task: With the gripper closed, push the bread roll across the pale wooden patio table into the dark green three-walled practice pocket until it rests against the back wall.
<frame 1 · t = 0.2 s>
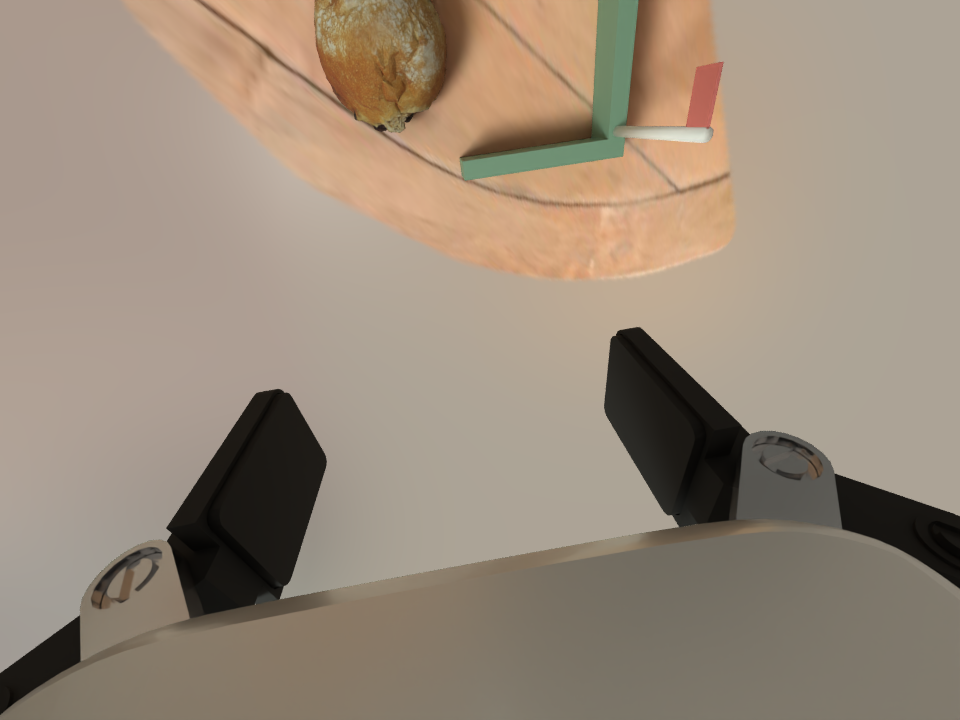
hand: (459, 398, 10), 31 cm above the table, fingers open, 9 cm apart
bread roll: (385, 57, 29), on the table
practice pocket: (521, 37, 29), on the table
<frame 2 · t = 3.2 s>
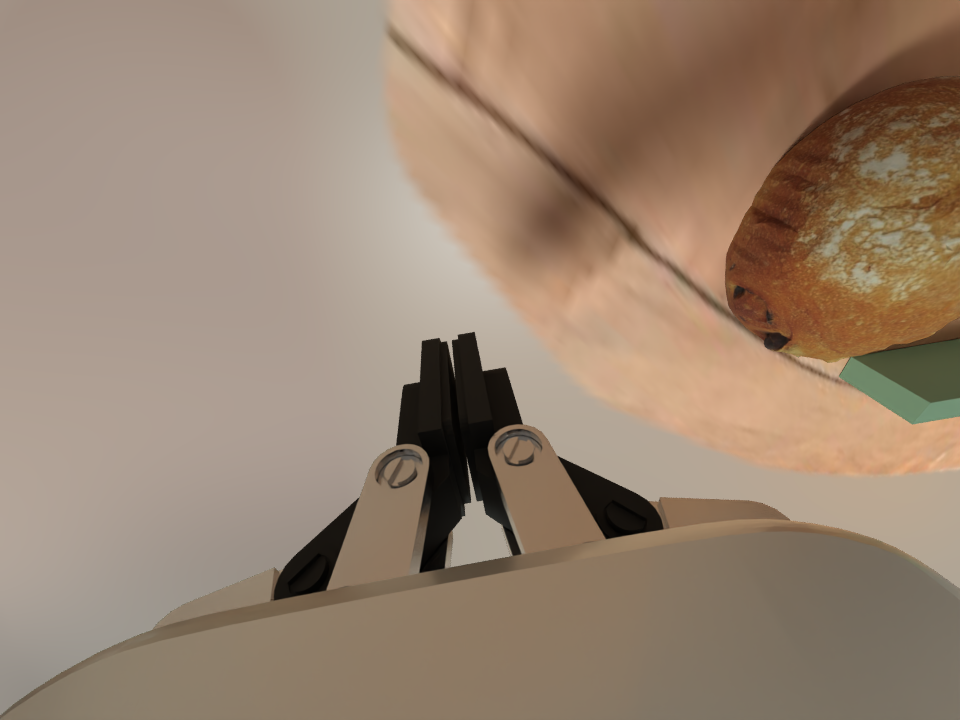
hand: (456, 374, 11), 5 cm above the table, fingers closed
bread roll: (819, 232, 16), on the table
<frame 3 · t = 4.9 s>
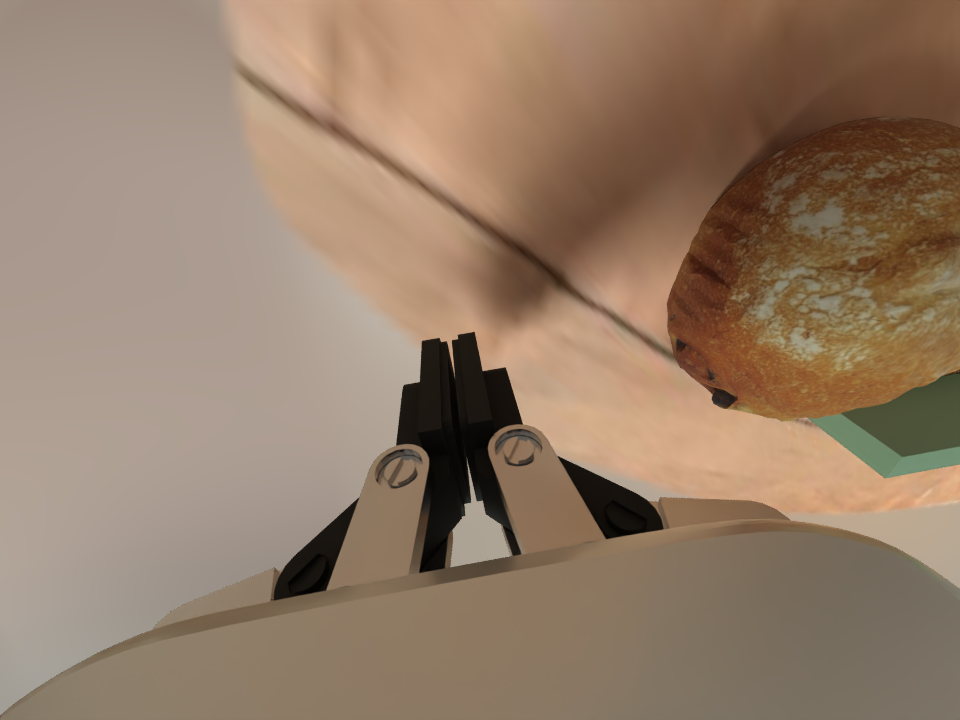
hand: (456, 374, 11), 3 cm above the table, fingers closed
bread roll: (769, 276, 15), on the table
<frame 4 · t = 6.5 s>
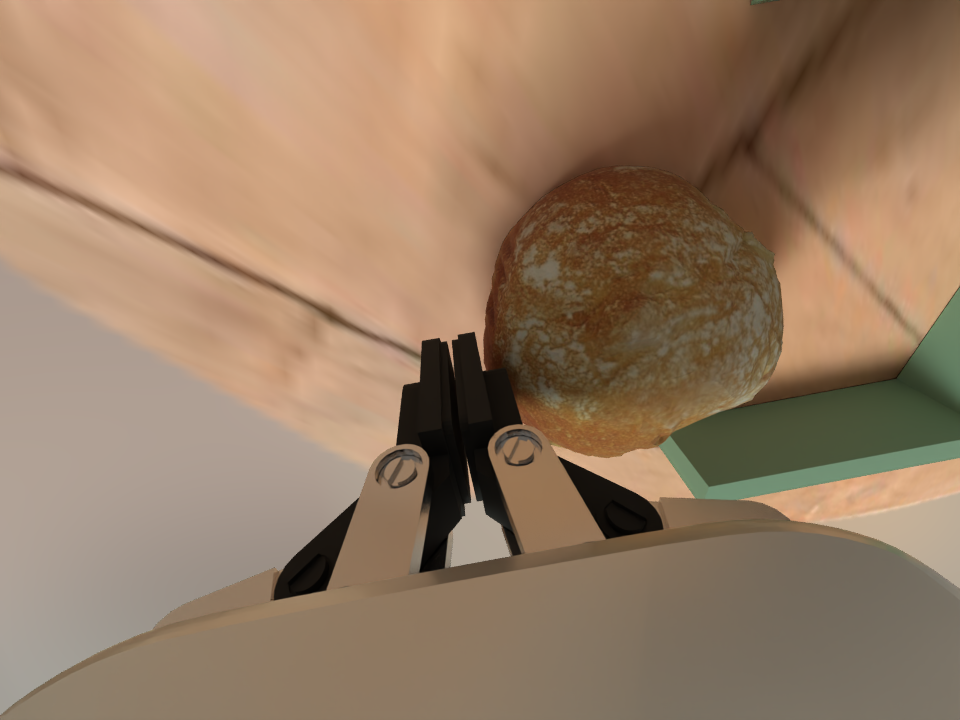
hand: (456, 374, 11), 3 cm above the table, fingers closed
bread roll: (591, 309, 15), on the table
practice pocket: (847, 253, 14), on the table
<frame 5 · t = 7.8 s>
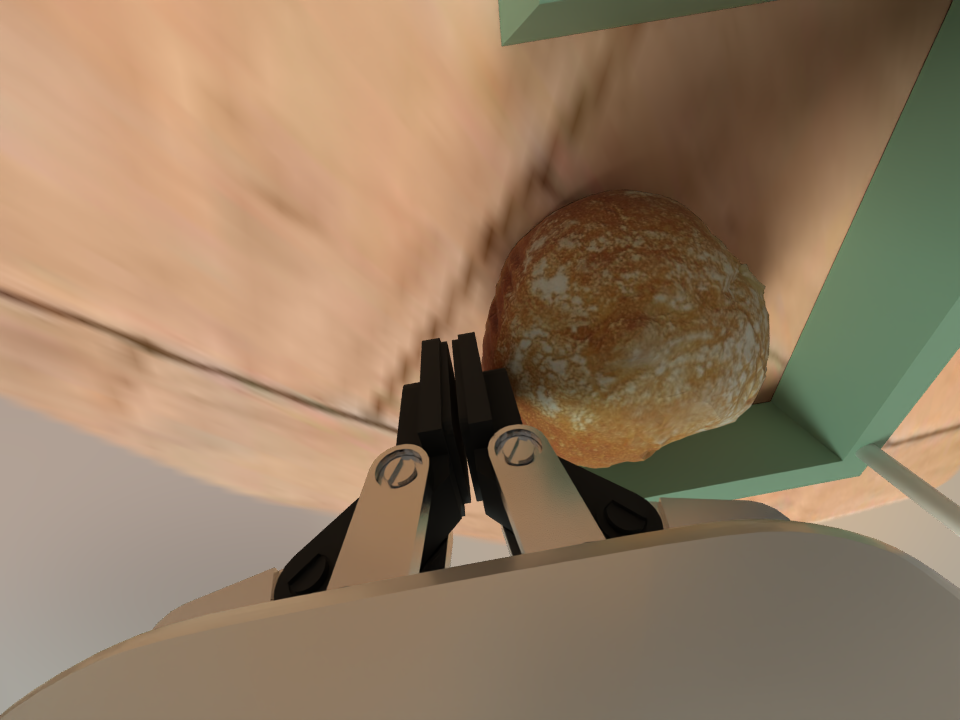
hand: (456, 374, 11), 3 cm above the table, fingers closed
bread roll: (588, 323, 15), on the table, touching gripper
practice pocket: (680, 282, 14), on the table
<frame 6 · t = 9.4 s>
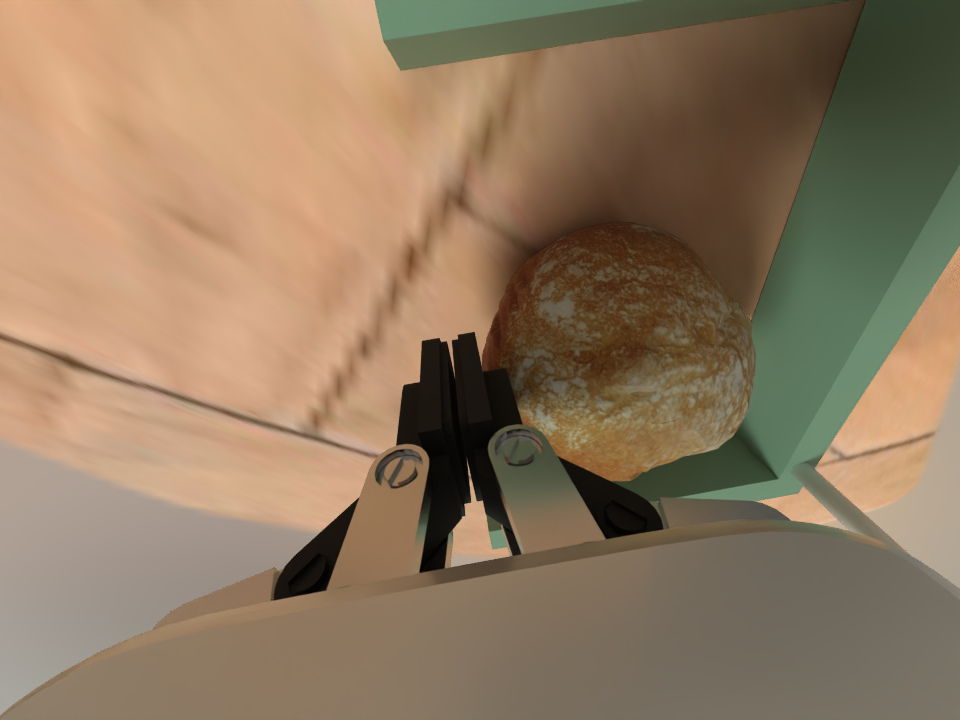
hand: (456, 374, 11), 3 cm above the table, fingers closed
bread roll: (583, 343, 15), on the table
practice pocket: (611, 301, 14), on the table
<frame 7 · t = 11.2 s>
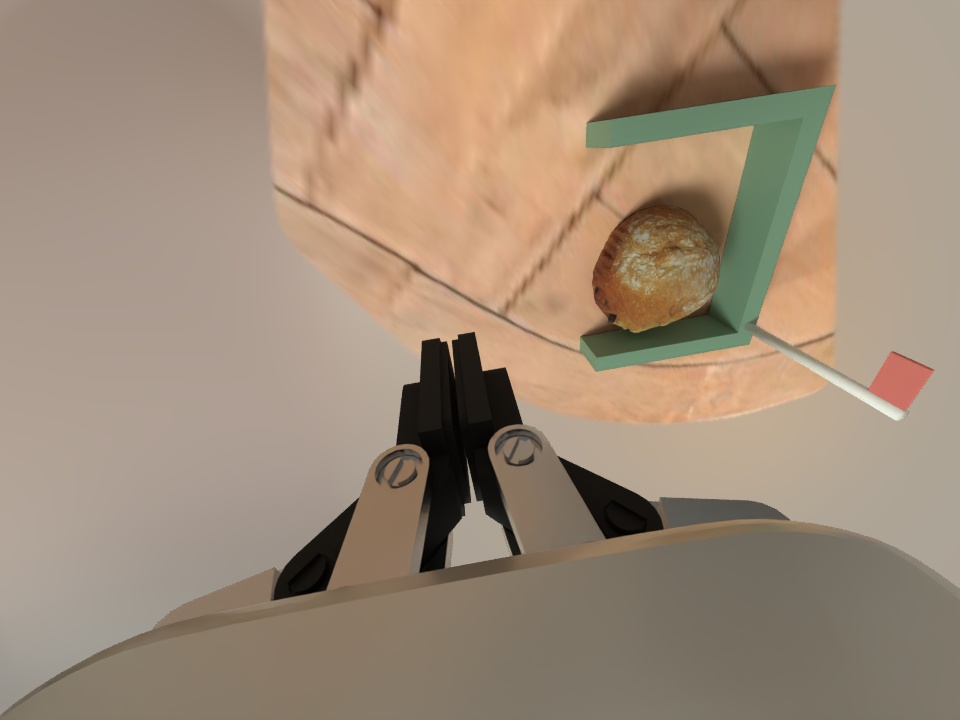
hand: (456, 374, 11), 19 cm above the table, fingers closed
bread roll: (640, 268, 32), on the table
practice pocket: (656, 243, 30), on the table
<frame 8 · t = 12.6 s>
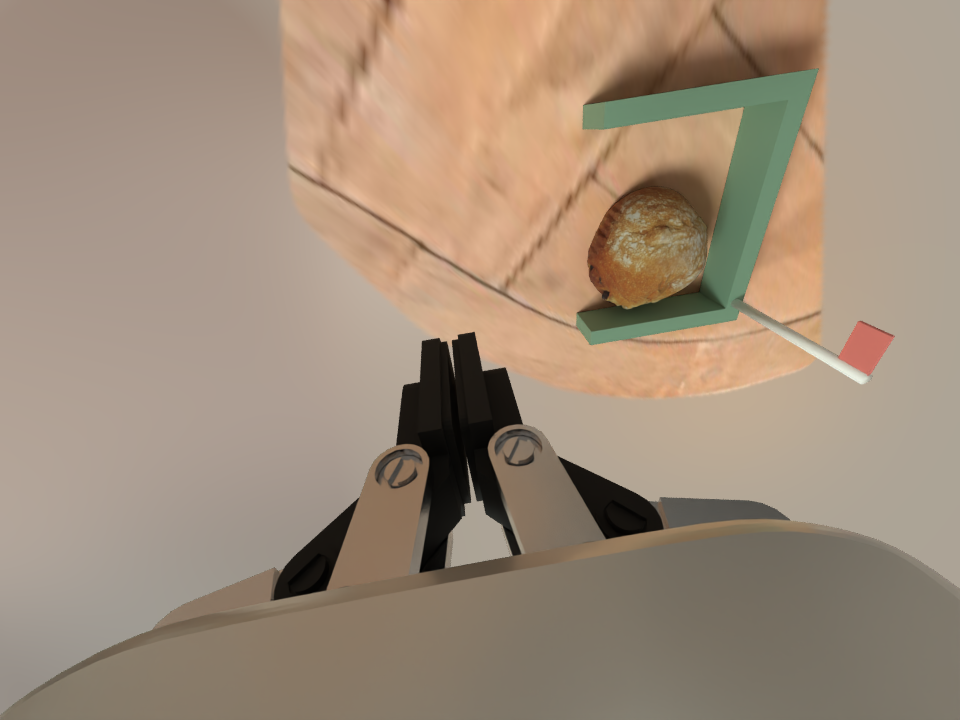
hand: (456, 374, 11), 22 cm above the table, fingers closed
bread roll: (633, 247, 33), on the table
practice pocket: (649, 222, 32), on the table
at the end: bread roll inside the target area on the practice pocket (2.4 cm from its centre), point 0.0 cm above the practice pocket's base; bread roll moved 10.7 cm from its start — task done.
